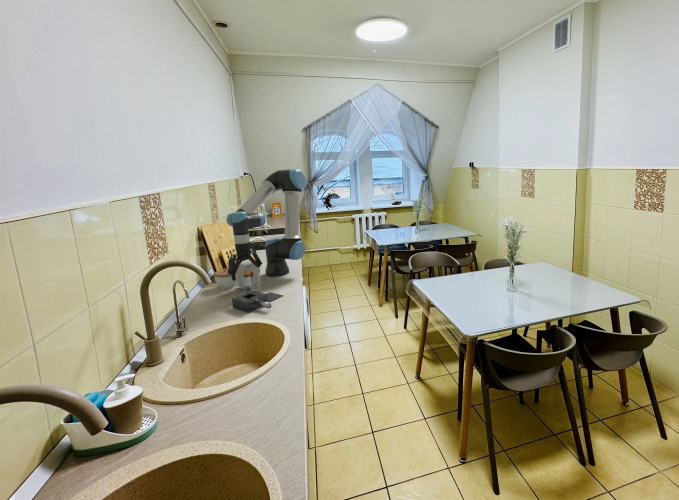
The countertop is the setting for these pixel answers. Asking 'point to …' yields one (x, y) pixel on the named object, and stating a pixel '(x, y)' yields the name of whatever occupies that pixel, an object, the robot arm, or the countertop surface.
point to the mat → (273, 296)
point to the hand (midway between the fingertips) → (247, 282)
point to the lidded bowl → (224, 279)
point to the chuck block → (250, 301)
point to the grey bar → (247, 280)
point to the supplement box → (250, 266)
